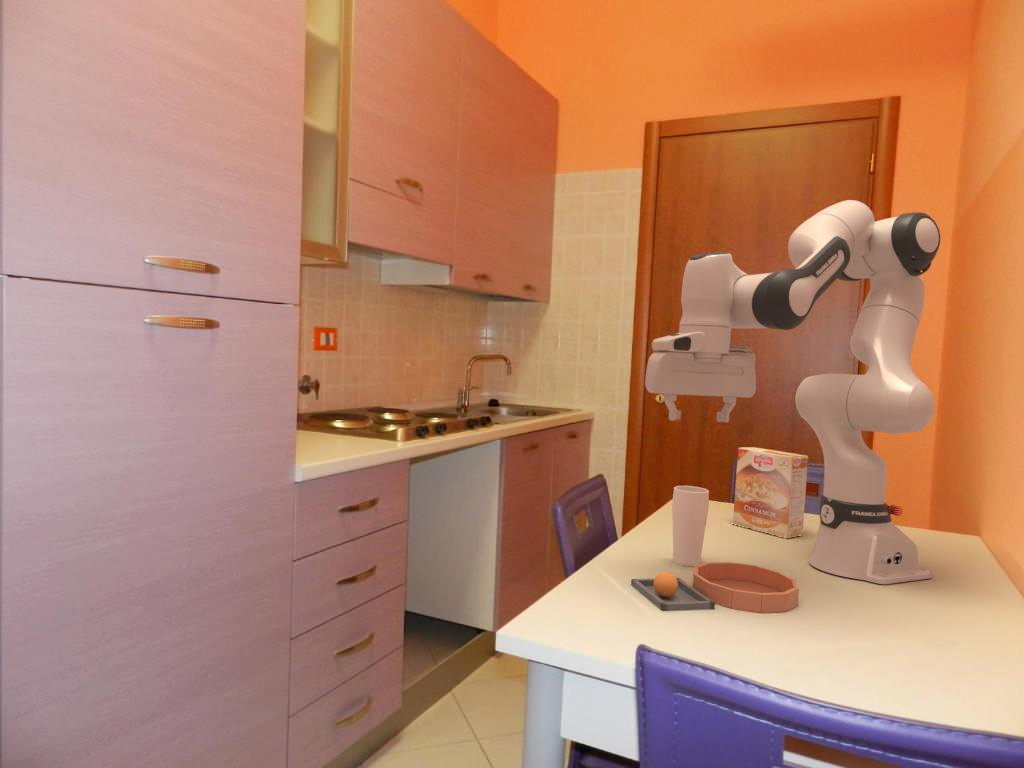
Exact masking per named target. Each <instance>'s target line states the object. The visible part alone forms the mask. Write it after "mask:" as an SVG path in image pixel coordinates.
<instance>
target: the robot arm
mask: <svg viewBox="0 0 1024 768" xmlns="http://www.w3.org/2000/svg"><path fill="white" fill-rule="evenodd" d="M787 244H788V245H787V252H788V257H789V260H790V262H791V263H792V264H793V266H794V267H795V268H794V269H792V268H791V269H785V270H779V271H775V272H767V273H759V274H748V273H746V272H744V271H743V270H741V269H740V267H738V266H737V265H736V263H735V262H734V260H733V256H732V253H729V252H727V251H714V252H708V253H702V254H701V253H699V254H696V255H693V256H691V257H690V258H689V259H688V260H687V262H686V265H685V267H684V272H683V278H682V285H681V293H680V295H681V297H680V303H681V307H682V313H681V314H682V315H681V319H680V321H679V327H678V328H679V329H678V332H677V333H672V334H668V335H666V336H662V337H658V338H655V339H653V340H652V342H651V348H652V351H654V352H652V354H651V355H650V356H649V358H648V361H647V364H646V370H645V371H646V373H645V380H644V387H645V389H646V390H647V392H648V393H651V394H662V395H663V402H664V403H665V405H666V407H667V409H668V420H669V421H679V422H680V421H681V419H682V410H678V409H677V406H676V404H675V402H676V401H677V397H678V396H679V395H681V396H683V395H684V396H701V397H702V396H704V397H705V396H706V397H722V402H723V403H725V404H724V405H723V407H722V409H721V411H717V412H716V422H718V423H729V422H730V421H729V420H730V413H731V412H732V411H733V409H734V408H735V406H736V404H737V398H747V399H748V398H749V399H750V398H753V396H754V395H755V394H756V391H757V375H756V368H755V367H756V353H755V352H754V351H753V350H752V349H750V347H749V346H744V345H743V346H742V345H741V346H738V345H731V334H732V329H752V330H753V329H770V330H771V329H772V330H781V331H782V330H785V331H789V330H793V329H796V328H797V327H799V326H800V325H801V324H803V323H804V321H805V320H806V319H807V318H808V316H809V314H810V312H811V310H812V309H813V307H814V305H815V303H816V302H817V301H818V299H820V297H821V295H823V294H824V292H825V291H826V290H828V288H830V286H831V285H832V284H833V283H834V282H835V281H836V280H837V279H838V280H841V281H844V282H857V281H861V280H864V279H869V282H870V289H869V292H868V293H867V296H866V297H865V299H864V301H863V304H862V306H861V309H860V311H859V314H858V318H857V320H856V323H855V326H854V329H853V332H852V334H851V338H850V340H849V346H850V350H851V353H852V355H853V356H854V357H855V358H856V359H857V360H858V361H860V362H861V363H862V364H864V365H865V366H867V367H868V369H867V371H866V372H865V374H852V373H851V374H849V373H831V372H830V373H829V372H828V373H823V374H821V373H820V374H815V375H811V376H807V377H805V378H804V379H803V380H802V381H801V382H800V384H799V385H798V387H797V390H796V392H795V399H794V400H795V406H796V410H797V412H798V414H799V416H800V417H801V418H802V419H803V420H804V421H805V422H807V423H808V425H809V427H811V429H812V430H813V432H814V433H815V435H816V437H817V438H818V440H819V441H818V442H819V445H820V446H821V449H822V455H823V461H824V462H823V465H824V466H823V467H824V469H823V472H824V473H823V494H821V495H820V502H819V520H820V522H819V527H818V531H817V536H816V540H815V544H814V548H813V551H812V554H811V557H810V559H809V561H808V562H809V564H810V565H811V566H812V567H814V568H815V569H818V570H819V571H822V572H825V573H829V574H832V575H836V576H839V577H845V578H848V579H849V578H851V579H855V580H861V581H866V582H871V583H874V584H880V585H890V584H896V583H904V582H910V581H911V582H912V581H922V580H926V579H932V578H933V577H932V572H930V570H928V569H927V568H925V567H923V566H921V565H919V551H918V547H917V545H916V543H915V542H914V541H913V540H912V539H911V538H910V537H908V535H906V534H905V532H903V531H902V530H901V529H900V528H899V527H897V525H895V524H894V523H893V522H892V521H893V520H892V516H893V515H894V516H896V517H901V516H902V515H903V514H904V508H903V507H902V506H900V505H896V504H890V505H888V504H887V503H886V494H887V493H886V492H887V481H888V480H887V479H888V466H887V464H886V462H885V460H884V459H883V457H881V455H879V454H878V453H877V452H875V451H874V450H872V449H870V448H869V447H868V446H867V445H866V443H865V441H864V439H863V436H862V431H864V432H873V433H874V432H876V433H883V434H889V435H890V434H892V435H894V434H895V435H896V434H897V435H898V434H909V433H910V434H911V433H919V432H921V431H922V430H923V429H925V428H926V427H927V426H928V425H929V423H930V422H931V420H932V418H933V417H934V413H935V408H936V407H935V398H934V396H933V393H932V391H931V390H930V388H929V387H928V386H927V385H926V383H925V382H923V381H921V380H920V379H919V377H918V376H917V375H916V373H915V372H914V370H913V367H912V363H911V362H912V361H911V359H912V358H911V356H912V351H913V346H914V342H915V339H916V335H917V332H918V329H919V326H920V322H921V319H922V314H923V310H924V305H925V295H926V294H925V293H926V286H925V282H924V281H923V279H922V278H921V277H920V276H921V275H924V274H925V273H927V271H929V269H930V267H931V265H932V262H933V260H935V257H936V255H937V253H938V252H939V251H938V250H939V248H940V244H941V232H940V229H939V227H938V225H937V222H936V221H935V220H934V219H933V218H932V217H931V216H930V215H929V214H927V213H925V212H919V211H918V212H916V211H915V212H906V213H901V214H900V215H898V216H894V217H893V216H892V217H889V218H883V219H880V220H877V221H875V216H874V213H873V211H872V210H871V208H870V207H869V206H867V205H866V204H865V203H863V202H861V201H860V200H859V201H858V200H854V199H853V200H852V199H848V200H847V199H845V200H843V201H840V202H836V203H834V204H832V205H830V206H828V207H825V208H824V209H822V210H820V211H818V212H817V213H815V214H813V215H812V216H811V217H809V218H807V220H805V221H804V222H802V223H801V224H799V226H798V227H796V229H795V230H794V231H793V232H792V233H791V235H790V236H789V239H788V243H787ZM677 395H678V396H677ZM891 515H892V516H891Z"/></svg>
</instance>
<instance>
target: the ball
mask: <svg viewBox="0 0 1024 768" xmlns="http://www.w3.org/2000/svg"><path fill="white" fill-rule="evenodd" d="M654 578H655V579H654ZM654 578H653V579H654V583H653V585H654V589H655V591H656V592H657V594H659V595H660V596H662V597H671V596H673V595H674V594H675V593H676V592H677V590H678V581H677V579H676V578H677V577H676V576H675V575H674V574H672V573H671V572H668V571H663V572H659V573H658V574H656V575H655V577H654Z"/></svg>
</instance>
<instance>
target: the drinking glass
mask: <svg viewBox="0 0 1024 768" xmlns="http://www.w3.org/2000/svg"><path fill="white" fill-rule="evenodd" d="M709 496H710V491H709V489H708V488H704V487H699V486H693V485H677V486H674V487H673V494H672V512H671V513H672V516H671V517H672V562H673V563H675V564H676V565H680V566H684V567H695V566H698V565H701V564H702V552H703V545H704V539H705V533H706V529H707V528H706V527H707V526H706V525H707V521H708V516H709V515H708V514H709V503H710V502H709V501H710V498H709Z"/></svg>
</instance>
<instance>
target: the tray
mask: <svg viewBox="0 0 1024 768" xmlns="http://www.w3.org/2000/svg"><path fill="white" fill-rule="evenodd" d="M654 579H655V577H654V578H631V579H630V580H631V581H630V582H631V583H630V586H632V588H634V589H635V590H636V591H638V592H639V594H641V595H643V597H645V598H646V599H647V600H648V601H649V602H650V603H652V604H653V605H654V606H656V607H657V608H658V609H659V610H661V611H662V612H675V611H677V612H678V611H679V612H680V611H700V610H703V611H704V610H715V608H716V607H715V606H716V603H715V602H713V601H712V600H710V599H709V598H708V597H706V596H705V595H703V594H702V593H700V592H699V591H697V590H696V589H694V588H693V585H690V584H688V583H687V582H686V581H684V580H683V579H681V578H680V577H676V579H677V581H678V590H677V592H676V593H675V594H674V595H673V596H671V597H662V596H660V595H659V594H657V592H656V591H655V589H654V585H653V583H654Z"/></svg>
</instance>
